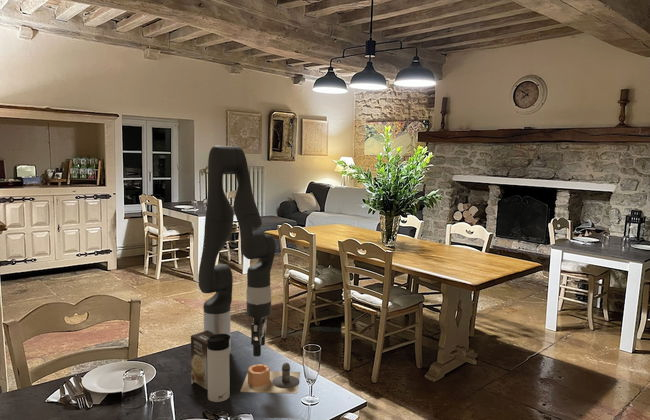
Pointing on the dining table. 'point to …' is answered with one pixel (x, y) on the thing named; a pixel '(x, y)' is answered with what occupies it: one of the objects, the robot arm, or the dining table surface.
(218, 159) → the robot arm
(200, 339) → the coffee box
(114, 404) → the dining table surface
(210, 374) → the travel mug
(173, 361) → the dining table surface
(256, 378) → the ring
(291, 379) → the post board
